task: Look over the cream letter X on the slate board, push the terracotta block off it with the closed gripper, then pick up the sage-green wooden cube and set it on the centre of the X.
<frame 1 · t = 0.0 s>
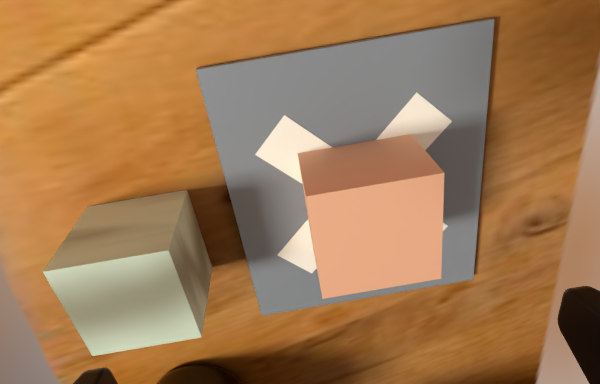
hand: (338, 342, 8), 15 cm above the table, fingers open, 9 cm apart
terracotta block: (358, 192, 23), resting on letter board
sage cube: (153, 237, 24), on the table
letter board: (356, 189, 24), on the table
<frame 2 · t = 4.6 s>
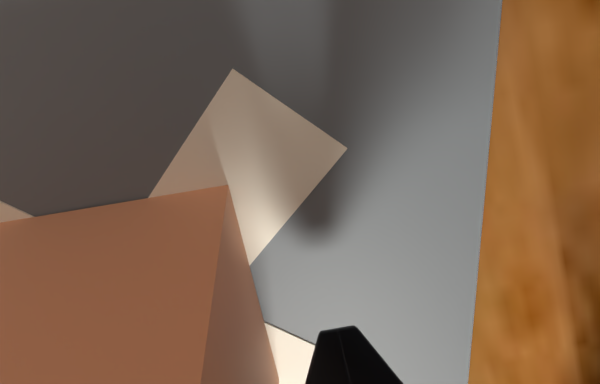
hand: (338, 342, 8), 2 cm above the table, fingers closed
terracotta block: (130, 317, 10), resting on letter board, touching gripper
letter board: (145, 301, 10), on the table
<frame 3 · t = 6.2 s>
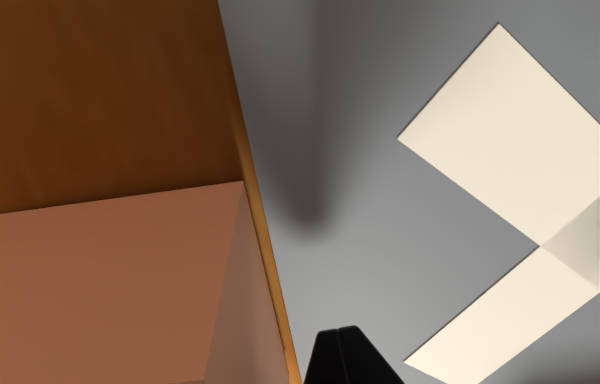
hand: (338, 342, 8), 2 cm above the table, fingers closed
terracotta block: (146, 306, 10), on the table, touching gripper
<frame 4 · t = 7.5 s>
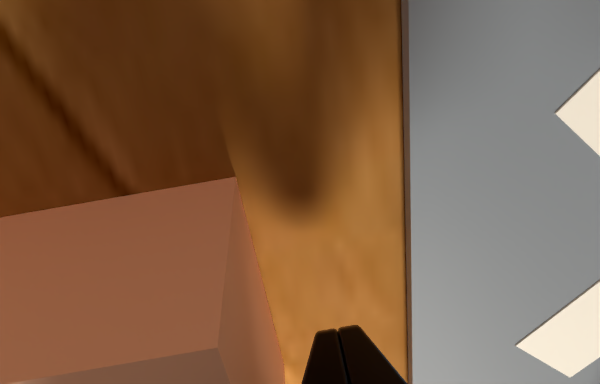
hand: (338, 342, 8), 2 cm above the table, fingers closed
terracotta block: (143, 300, 10), on the table
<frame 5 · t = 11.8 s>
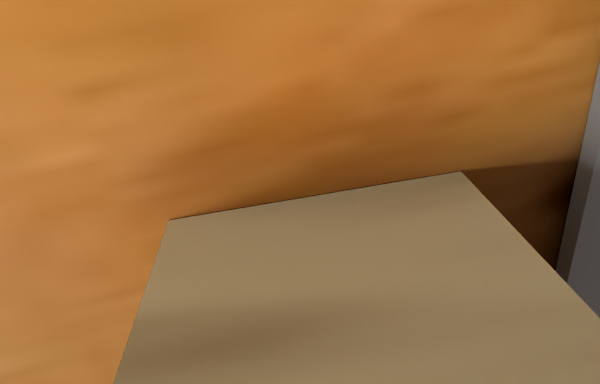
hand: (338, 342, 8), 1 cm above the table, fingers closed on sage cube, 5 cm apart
sage cube: (330, 303, 9), on the table, touching gripper
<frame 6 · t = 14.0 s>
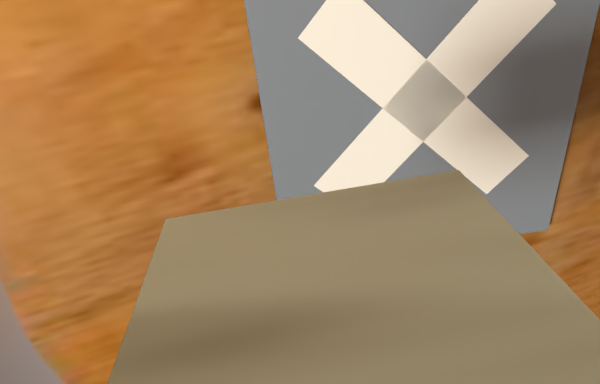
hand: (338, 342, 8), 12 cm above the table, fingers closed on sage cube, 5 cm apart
sage cube: (328, 301, 9), point 11 cm above the table, touching gripper
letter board: (421, 99, 18), on the table
when the fingers open (3 cm above the table, at t = 16.5 s): sage cube drops 1 cm, resting on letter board.
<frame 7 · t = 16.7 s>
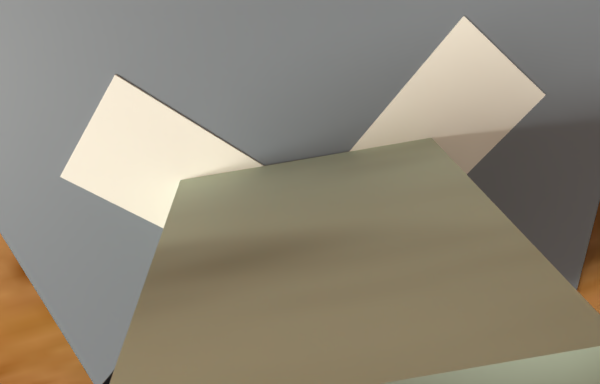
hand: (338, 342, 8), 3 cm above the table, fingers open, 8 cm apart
sage cube: (321, 257, 10), resting on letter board
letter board: (319, 248, 11), on the table
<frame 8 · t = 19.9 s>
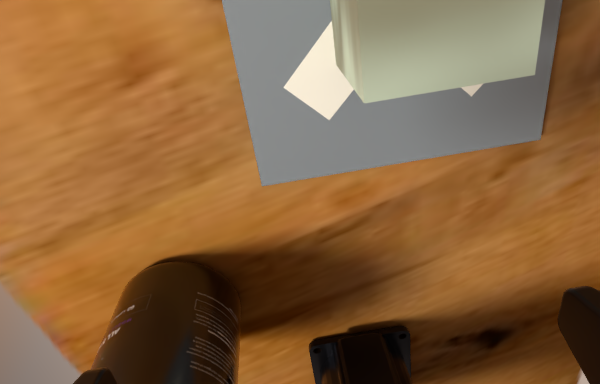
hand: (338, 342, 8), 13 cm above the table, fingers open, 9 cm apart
supplement bottle: (183, 300, 25), on the table
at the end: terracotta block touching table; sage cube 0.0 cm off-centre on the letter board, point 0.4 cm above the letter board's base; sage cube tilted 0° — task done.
